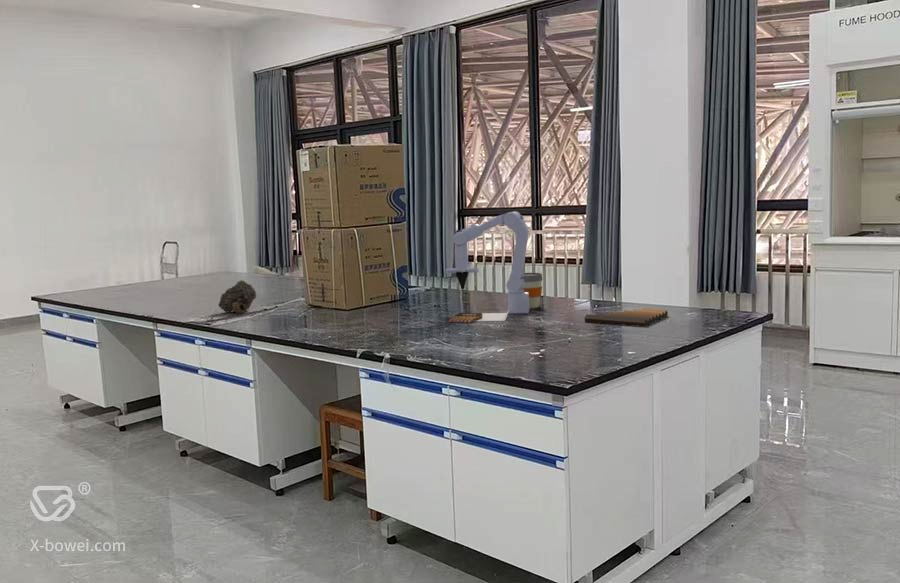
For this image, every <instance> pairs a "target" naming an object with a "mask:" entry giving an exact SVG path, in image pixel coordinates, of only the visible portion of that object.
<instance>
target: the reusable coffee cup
mask: <svg viewBox="0 0 900 583" xmlns="http://www.w3.org/2000/svg"><path fill="white" fill-rule="evenodd" d="M523 273H524V281H525V285H524V287H523V290H524V292H528V293H529V305H530V309H536V308H539V307H540V301H541V297H542V291H543V285H542V284H543V282H542V281H543V274H542V273H541V272H523Z"/></svg>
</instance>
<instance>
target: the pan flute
mask: <svg viewBox="0 0 900 583" xmlns="http://www.w3.org/2000/svg"><path fill="white" fill-rule="evenodd" d="M668 315H669V314H668V311H667V310H666V309H656V308H655V309H654V308H642V309H633V310H623V311H614V312H604V313H595V314H585V315H584V316H585V317H584V322H585V323H592V322H601V323H600V324H605V323H613V324H612V325H617V324H625V325H624V326H630V325H639V326H638V327H643V326H645V327H647V326H649V325H648V324H650V323H651V324H653V323H652V322H654V321H656V322H658V321H660V320H659V319H661V318H663V319H664V318H667V317H668ZM666 316H667V317H666ZM657 320H658V321H657ZM661 320H662V319H661ZM654 323H655V322H654ZM651 324H650V325H651ZM646 325H647V326H646Z"/></svg>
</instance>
